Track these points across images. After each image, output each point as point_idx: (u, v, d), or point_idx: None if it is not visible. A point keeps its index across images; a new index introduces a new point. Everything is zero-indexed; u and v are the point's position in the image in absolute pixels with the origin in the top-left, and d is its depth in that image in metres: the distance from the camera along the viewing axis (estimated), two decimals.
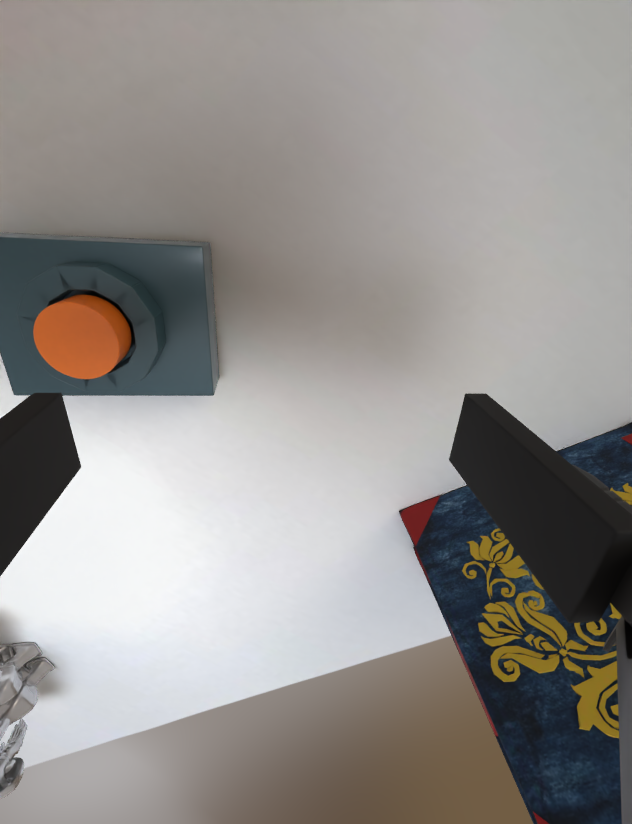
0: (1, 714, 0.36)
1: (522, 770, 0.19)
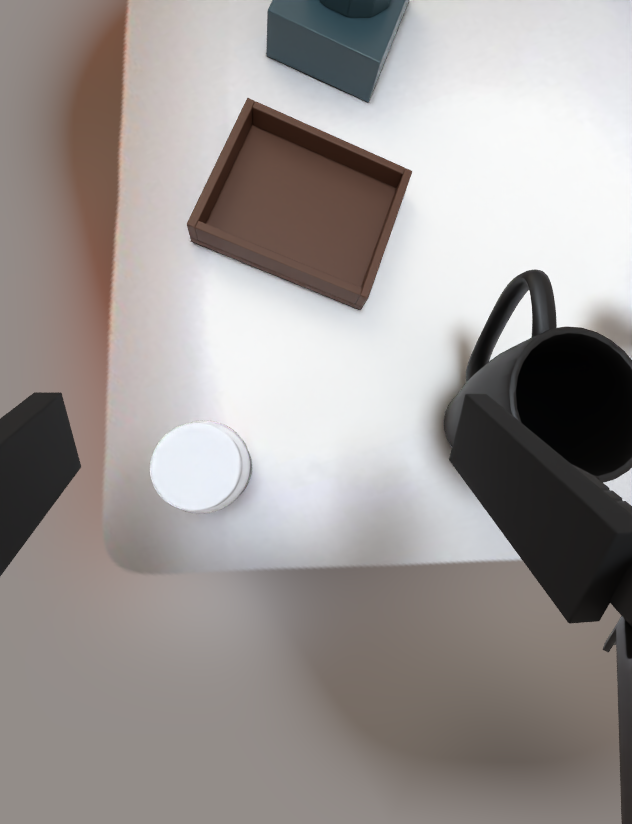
0: None
1: None
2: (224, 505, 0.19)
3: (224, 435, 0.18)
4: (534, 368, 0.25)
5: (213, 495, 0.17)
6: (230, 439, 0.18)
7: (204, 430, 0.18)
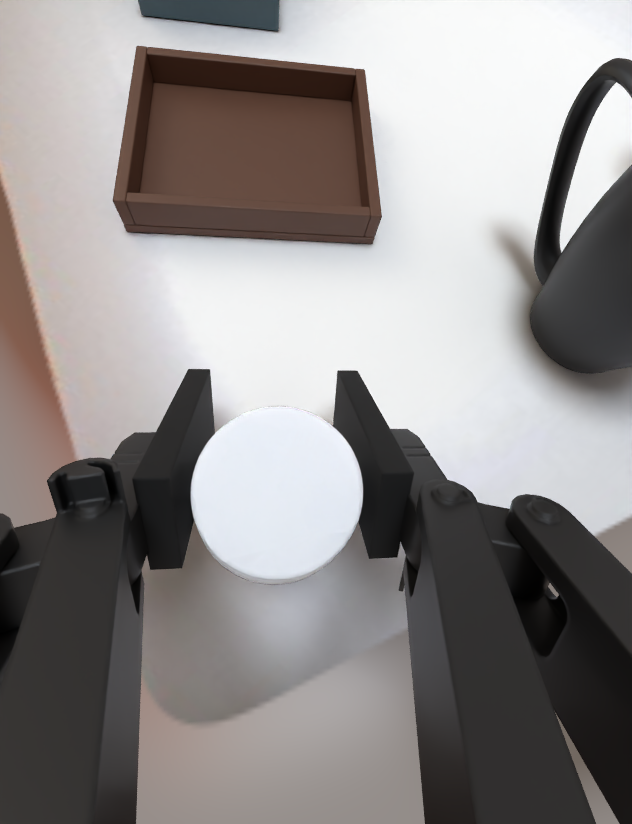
0: None
1: None
2: None
3: (307, 415, 0.09)
4: None
5: (333, 528, 0.09)
6: (318, 418, 0.10)
7: (268, 419, 0.09)
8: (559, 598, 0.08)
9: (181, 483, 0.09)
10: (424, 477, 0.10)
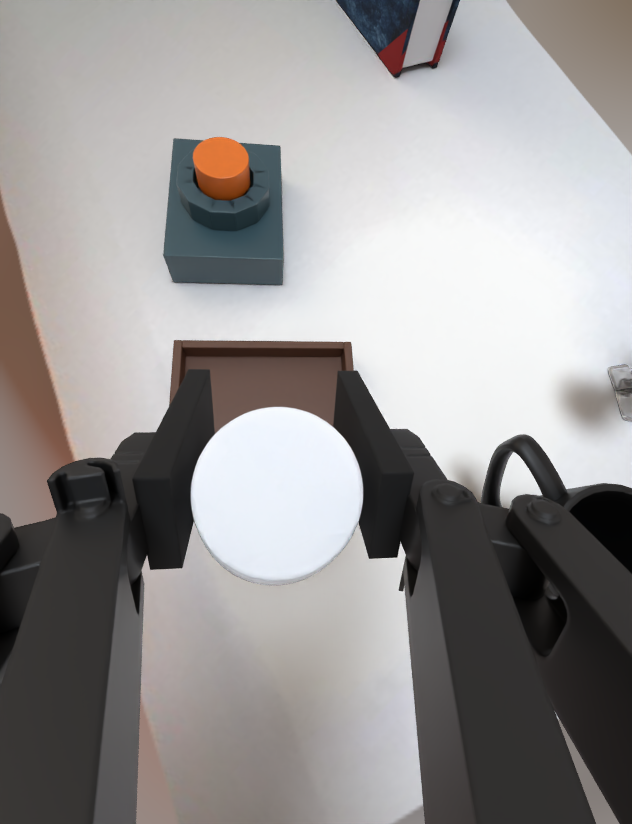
0: None
1: None
2: None
3: (306, 416, 0.09)
4: None
5: (333, 528, 0.09)
6: (319, 419, 0.10)
7: (268, 420, 0.09)
8: (559, 598, 0.08)
9: (181, 483, 0.09)
10: (424, 478, 0.10)
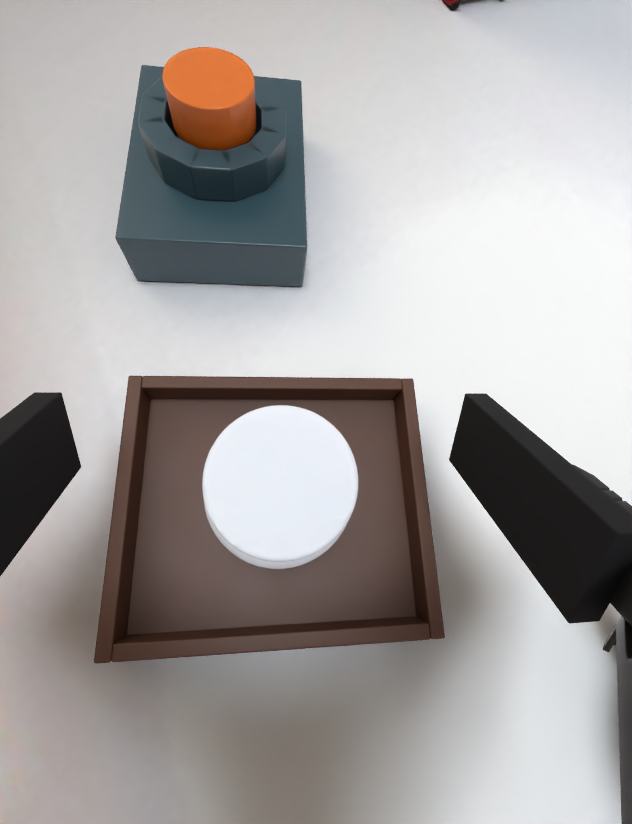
0: None
1: None
2: (338, 534, 0.12)
3: (307, 414, 0.10)
4: None
5: (330, 515, 0.10)
6: (318, 416, 0.10)
7: (272, 417, 0.10)
8: None
9: None
10: None
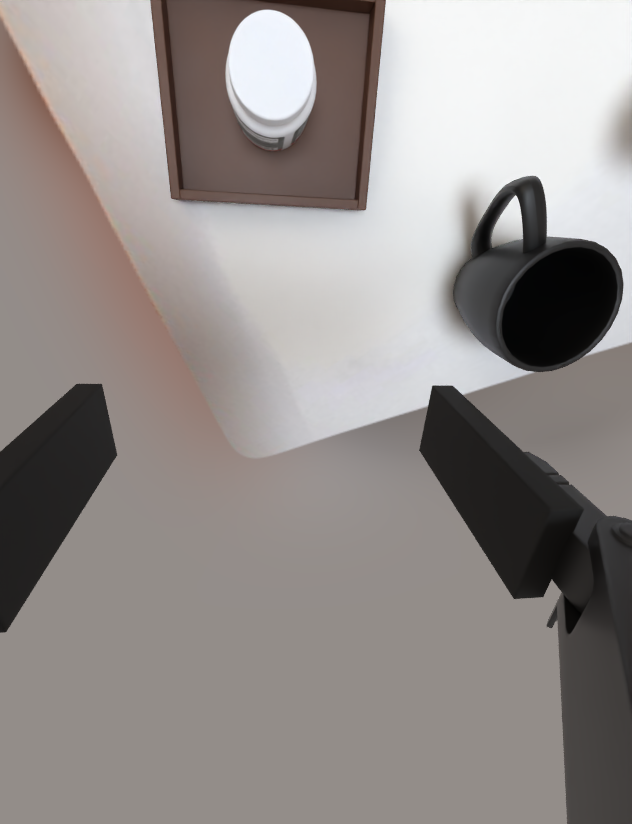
0: None
1: None
2: (304, 118, 0.21)
3: (287, 19, 0.17)
4: None
5: (297, 95, 0.18)
6: (293, 22, 0.17)
7: (265, 19, 0.17)
8: None
9: (3, 530, 0.08)
10: None
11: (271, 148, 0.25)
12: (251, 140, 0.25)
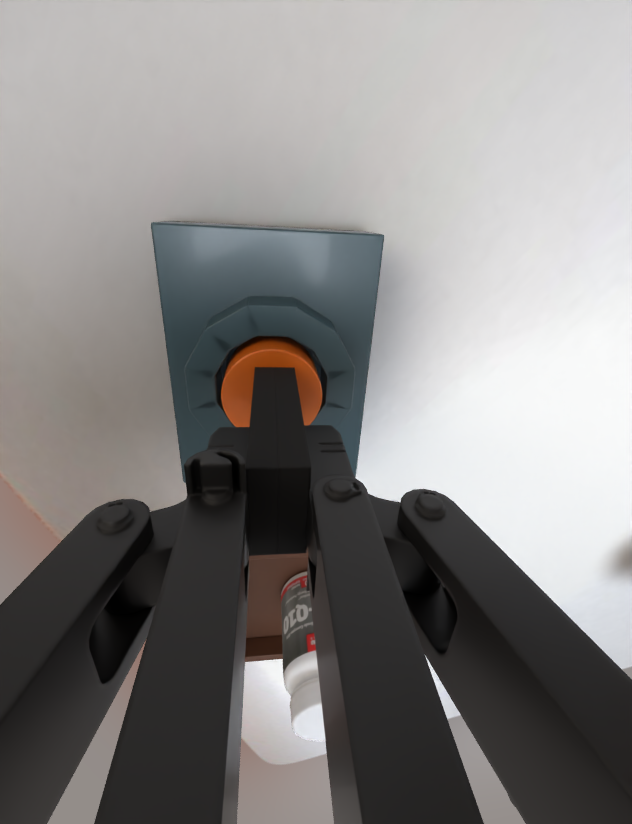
0: None
1: None
2: None
3: None
4: None
5: None
6: None
7: None
8: None
9: None
10: (331, 473, 0.10)
11: None
12: None
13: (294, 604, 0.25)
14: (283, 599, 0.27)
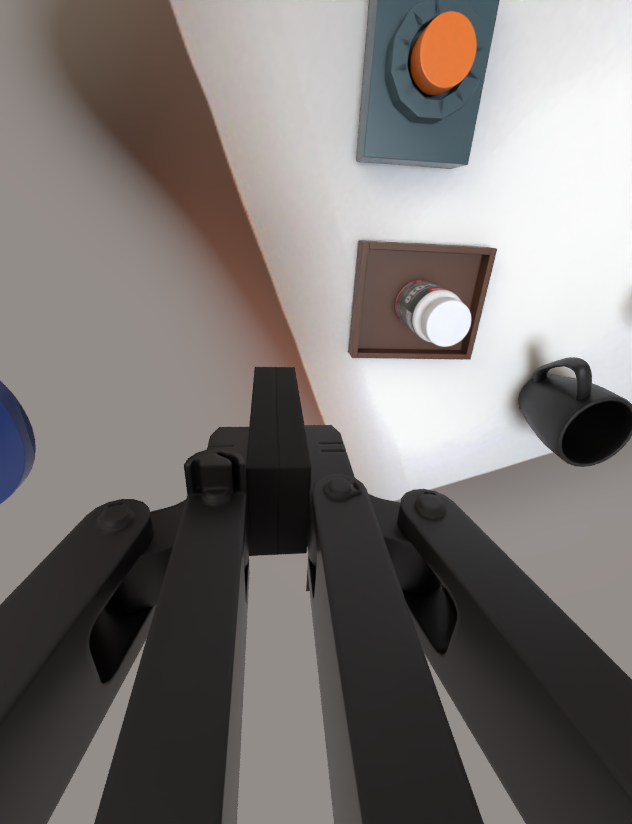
0: None
1: None
2: None
3: (461, 304, 0.32)
4: None
5: (460, 335, 0.34)
6: (464, 305, 0.32)
7: (450, 305, 0.32)
8: None
9: None
10: (331, 473, 0.10)
11: None
12: None
13: (412, 289, 0.37)
14: (399, 297, 0.39)
